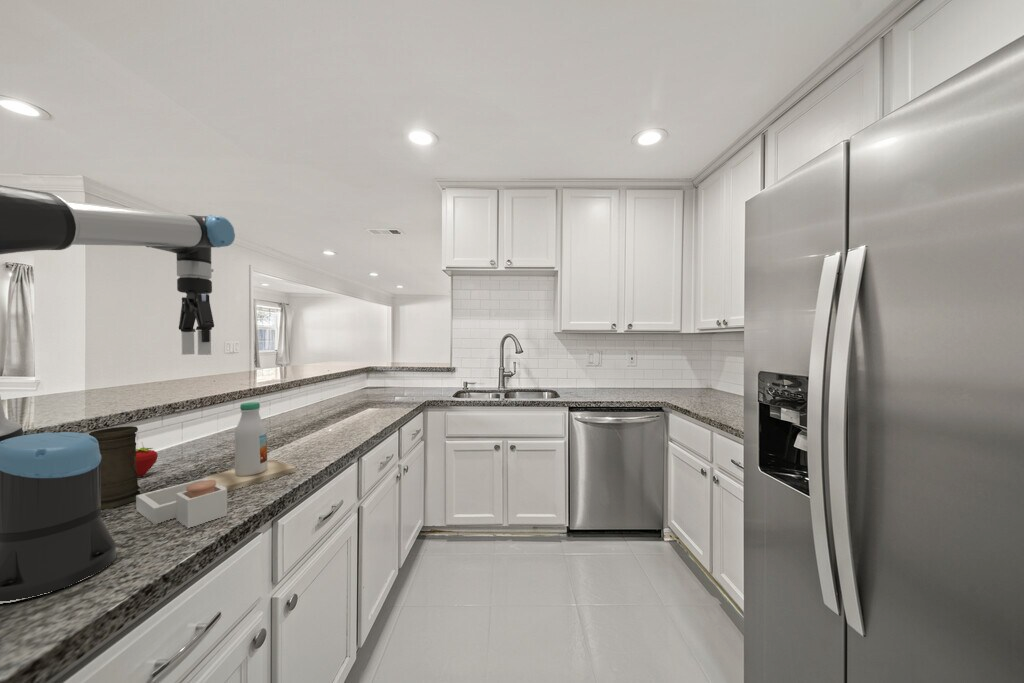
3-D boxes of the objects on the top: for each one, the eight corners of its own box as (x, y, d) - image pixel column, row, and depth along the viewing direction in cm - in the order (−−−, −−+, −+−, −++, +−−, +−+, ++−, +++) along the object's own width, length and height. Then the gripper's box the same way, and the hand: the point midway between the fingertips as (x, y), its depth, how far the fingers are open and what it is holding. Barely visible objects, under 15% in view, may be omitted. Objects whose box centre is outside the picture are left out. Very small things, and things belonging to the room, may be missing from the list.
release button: (191, 516, 82) (191, 490, 82) (183, 511, 85) (182, 485, 85) (220, 507, 86) (220, 482, 86) (211, 502, 89) (210, 478, 89)
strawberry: (123, 477, 114) (122, 443, 114) (158, 470, 119) (157, 438, 119) (122, 482, 109) (121, 447, 109) (158, 475, 114) (157, 442, 114)
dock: (168, 535, 78) (167, 506, 78) (136, 510, 90) (135, 484, 90) (243, 510, 89) (242, 484, 89) (205, 491, 101) (205, 468, 101)
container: (107, 511, 90) (105, 434, 90) (78, 508, 92) (76, 433, 92) (150, 496, 99) (149, 426, 99) (123, 493, 101) (121, 425, 101)
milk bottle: (252, 477, 107) (250, 405, 107) (228, 476, 108) (226, 405, 108) (273, 468, 115) (272, 401, 115) (250, 467, 116) (249, 400, 116)
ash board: (225, 492, 100) (225, 486, 100) (204, 482, 108) (204, 477, 108) (295, 472, 115) (295, 467, 115) (272, 464, 123) (272, 459, 123)
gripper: (227, 275, 104) (229, 354, 104) (196, 284, 118) (197, 353, 118) (192, 271, 97) (194, 355, 97) (164, 281, 112) (165, 354, 112)
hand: (196, 354), depth 108 cm, fingers open, 13 cm apart
